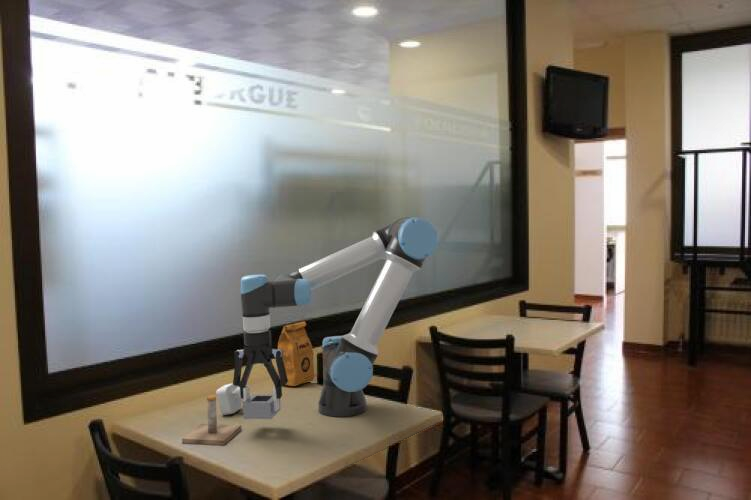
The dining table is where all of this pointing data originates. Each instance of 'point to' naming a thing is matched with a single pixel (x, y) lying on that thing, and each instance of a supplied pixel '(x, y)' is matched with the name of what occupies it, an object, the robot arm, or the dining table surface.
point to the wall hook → (229, 399)
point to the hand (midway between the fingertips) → (262, 409)
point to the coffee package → (296, 354)
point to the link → (259, 407)
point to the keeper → (212, 428)
